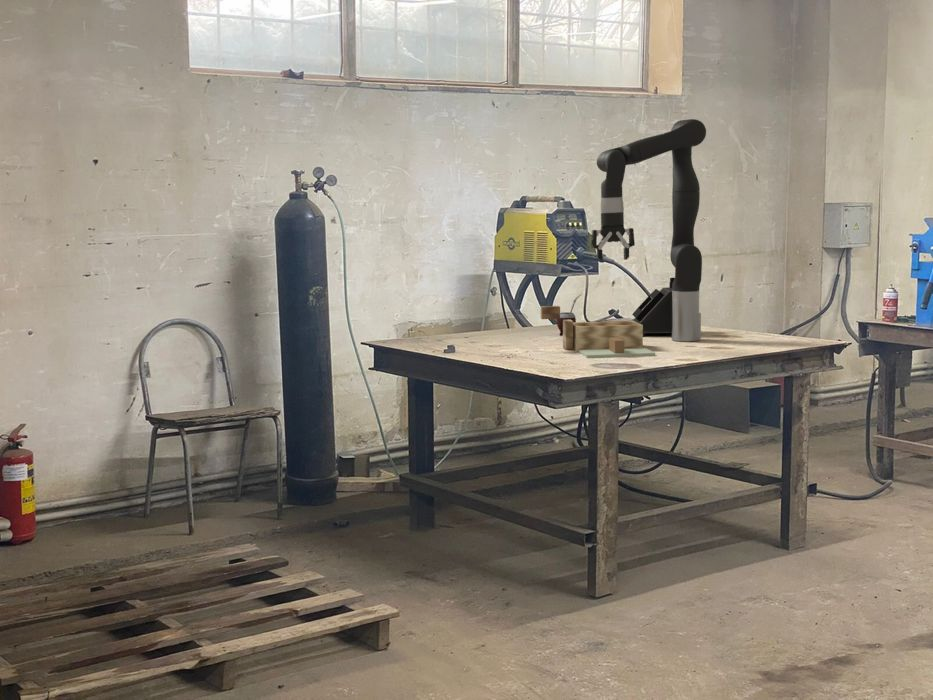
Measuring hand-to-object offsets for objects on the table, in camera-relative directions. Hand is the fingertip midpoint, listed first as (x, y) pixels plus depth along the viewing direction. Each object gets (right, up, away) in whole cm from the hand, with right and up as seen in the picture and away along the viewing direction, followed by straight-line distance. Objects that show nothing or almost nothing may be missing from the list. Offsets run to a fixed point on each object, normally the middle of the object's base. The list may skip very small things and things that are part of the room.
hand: (613, 260), depth 378 cm
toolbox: (-4, -29, -1) cm, 30 cm away
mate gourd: (-12, -25, +35) cm, 45 cm away
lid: (-1, -32, -16) cm, 36 cm away
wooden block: (-21, -20, -4) cm, 29 cm away
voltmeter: (+20, -24, +34) cm, 47 cm away
